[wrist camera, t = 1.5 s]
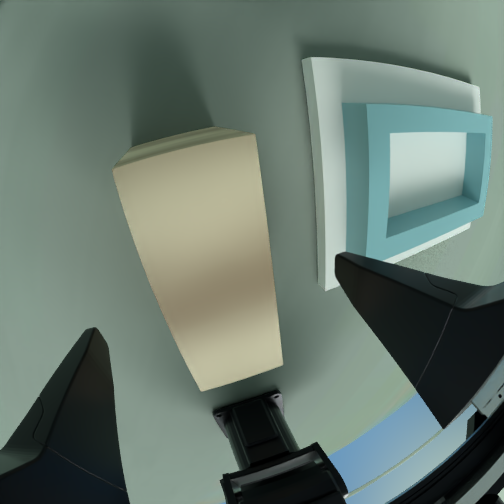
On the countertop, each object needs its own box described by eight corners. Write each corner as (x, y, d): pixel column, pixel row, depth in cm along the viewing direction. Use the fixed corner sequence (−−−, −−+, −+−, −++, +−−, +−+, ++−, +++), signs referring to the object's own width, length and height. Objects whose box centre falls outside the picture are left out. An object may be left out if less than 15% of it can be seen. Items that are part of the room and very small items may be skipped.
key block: (244, 293, 17) (282, 364, 12) (182, 312, 17) (201, 391, 12) (213, 126, 12) (255, 134, 7) (131, 147, 12) (111, 169, 6)
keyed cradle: (462, 223, 22) (483, 236, 20) (317, 283, 19) (341, 309, 16) (470, 85, 15) (497, 90, 13) (301, 59, 12) (333, 51, 9)
